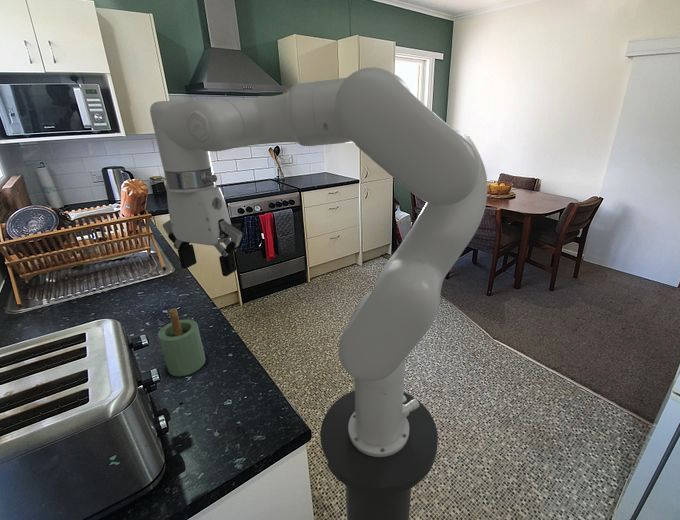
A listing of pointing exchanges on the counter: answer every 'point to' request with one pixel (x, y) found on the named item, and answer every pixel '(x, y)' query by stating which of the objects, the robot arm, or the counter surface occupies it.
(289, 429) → the counter surface
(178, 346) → the jar
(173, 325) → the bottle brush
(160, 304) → the counter surface
